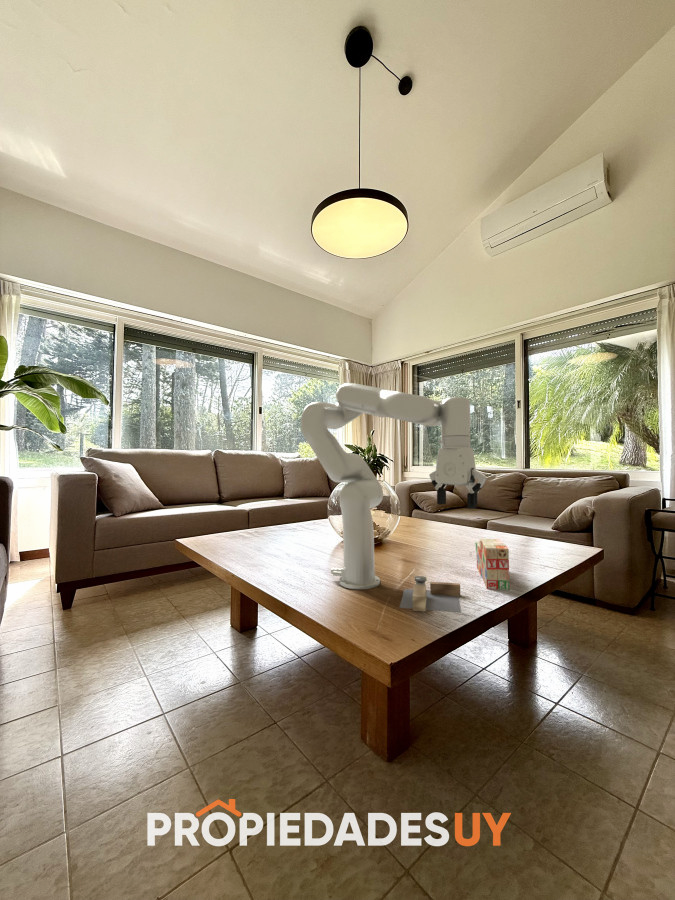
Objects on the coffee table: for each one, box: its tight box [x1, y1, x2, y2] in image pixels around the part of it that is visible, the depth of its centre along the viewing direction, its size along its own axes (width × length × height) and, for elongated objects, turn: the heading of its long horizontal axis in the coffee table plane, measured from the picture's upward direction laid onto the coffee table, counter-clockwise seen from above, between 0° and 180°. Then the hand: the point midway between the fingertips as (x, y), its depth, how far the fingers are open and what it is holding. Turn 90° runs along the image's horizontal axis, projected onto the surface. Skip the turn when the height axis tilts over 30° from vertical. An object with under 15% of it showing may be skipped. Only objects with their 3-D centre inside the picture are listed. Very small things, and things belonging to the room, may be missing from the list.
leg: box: [412, 583, 427, 612], centre depth 98 cm, size 3×9×4 cm, turn 165°
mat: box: [399, 588, 462, 613], centre depth 101 cm, size 15×14×1 cm
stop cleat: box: [429, 581, 461, 597], centre depth 105 cm, size 8×2×3 cm, turn 75°
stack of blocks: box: [475, 538, 510, 591], centre depth 118 cm, size 21×6×12 cm, turn 167°
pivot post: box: [414, 575, 427, 585], centre depth 104 cm, size 3×3×5 cm
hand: (456, 506), depth 102 cm, fingers open, 9 cm apart
